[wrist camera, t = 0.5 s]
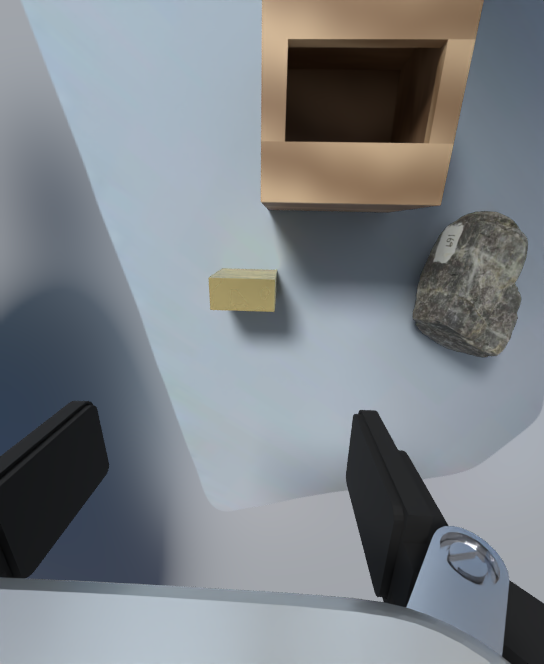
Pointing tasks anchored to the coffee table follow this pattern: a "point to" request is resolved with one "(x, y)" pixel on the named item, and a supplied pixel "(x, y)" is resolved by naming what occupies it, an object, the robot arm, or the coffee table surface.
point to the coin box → (361, 101)
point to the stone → (472, 284)
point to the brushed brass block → (243, 290)
